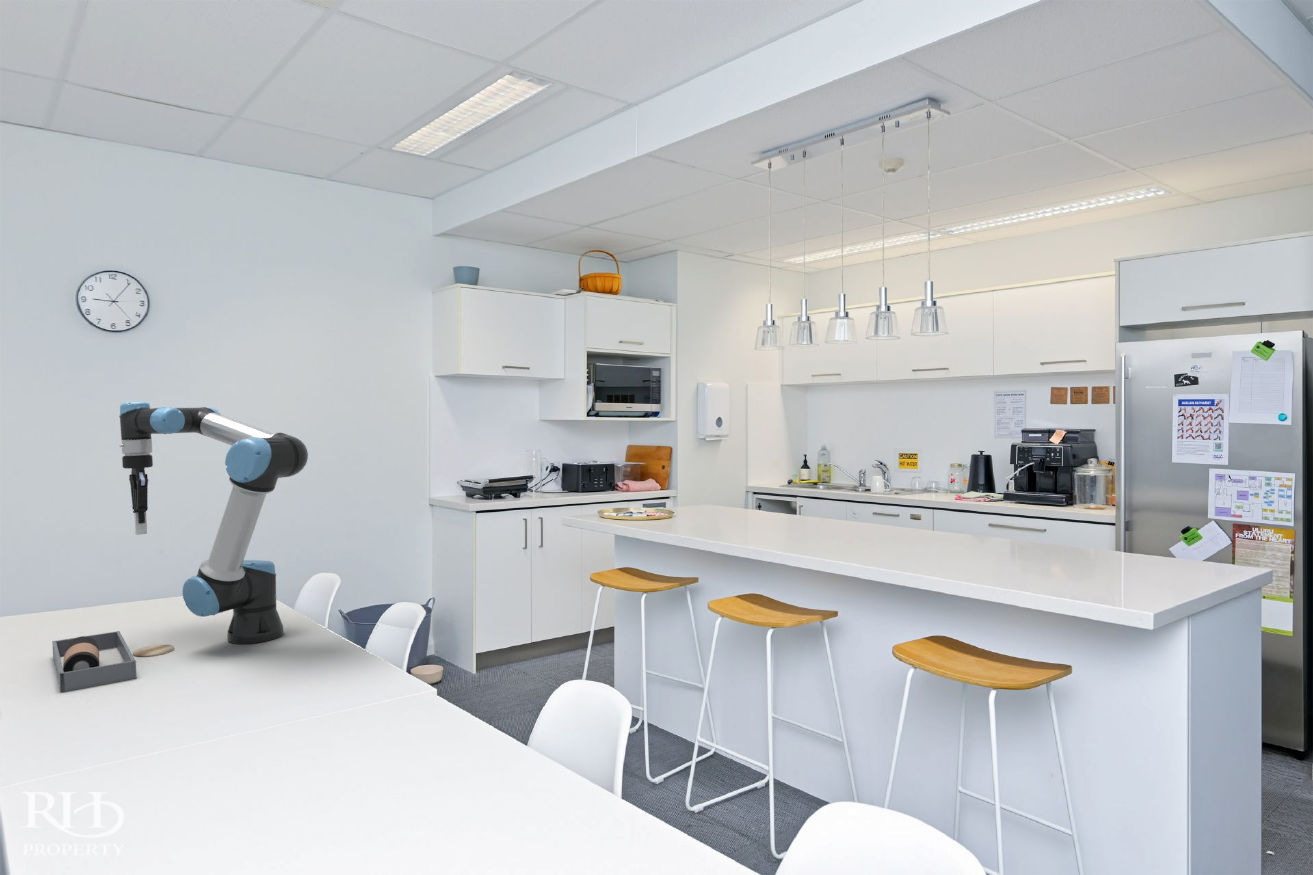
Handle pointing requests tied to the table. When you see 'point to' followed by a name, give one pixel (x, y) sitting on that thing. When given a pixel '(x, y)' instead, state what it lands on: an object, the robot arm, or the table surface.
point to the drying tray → (95, 674)
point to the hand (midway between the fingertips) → (141, 533)
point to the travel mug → (81, 654)
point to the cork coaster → (153, 650)
